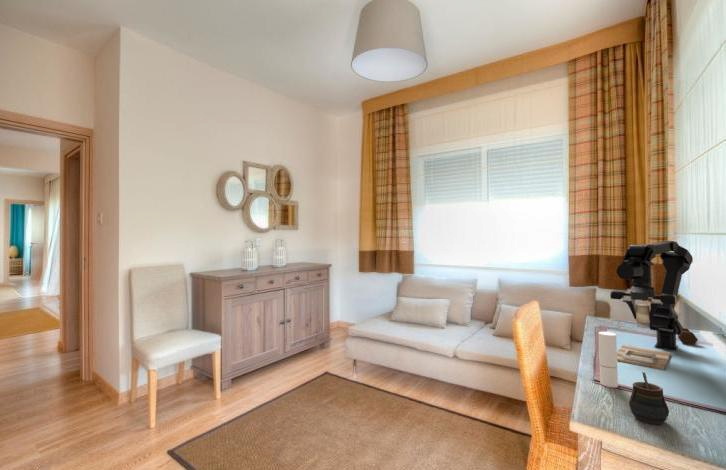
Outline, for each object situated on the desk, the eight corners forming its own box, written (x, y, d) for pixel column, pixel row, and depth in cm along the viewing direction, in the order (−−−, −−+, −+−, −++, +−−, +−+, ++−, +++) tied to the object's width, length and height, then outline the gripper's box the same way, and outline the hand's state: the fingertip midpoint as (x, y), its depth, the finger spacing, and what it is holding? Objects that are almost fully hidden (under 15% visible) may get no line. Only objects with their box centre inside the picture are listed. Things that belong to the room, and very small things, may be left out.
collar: (627, 352, 127) (627, 349, 127) (656, 357, 121) (656, 354, 121) (622, 358, 121) (622, 355, 121) (652, 364, 115) (652, 360, 115)
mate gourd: (636, 425, 80) (634, 381, 80) (624, 410, 87) (622, 370, 87) (675, 430, 78) (673, 384, 78) (659, 414, 85) (657, 373, 85)
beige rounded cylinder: (637, 325, 131) (636, 303, 131) (651, 326, 128) (650, 305, 129) (635, 326, 129) (634, 305, 129) (649, 328, 126) (648, 306, 126)
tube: (618, 388, 99) (616, 336, 100) (600, 385, 102) (598, 334, 102) (617, 383, 103) (615, 332, 103) (599, 380, 105) (598, 330, 105)
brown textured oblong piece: (684, 340, 149) (690, 348, 137) (671, 333, 152) (675, 340, 140) (693, 329, 147) (700, 336, 135) (679, 322, 150) (685, 328, 138)
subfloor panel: (623, 346, 136) (623, 344, 136) (670, 354, 126) (670, 352, 126) (611, 359, 122) (611, 357, 122) (663, 369, 112) (663, 367, 112)
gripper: (606, 278, 130) (607, 319, 130) (672, 281, 116) (674, 328, 116) (613, 275, 138) (614, 315, 137) (676, 278, 124) (677, 322, 124)
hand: (643, 320), depth 129 cm, fingers closed on beige rounded cylinder, 4 cm apart
